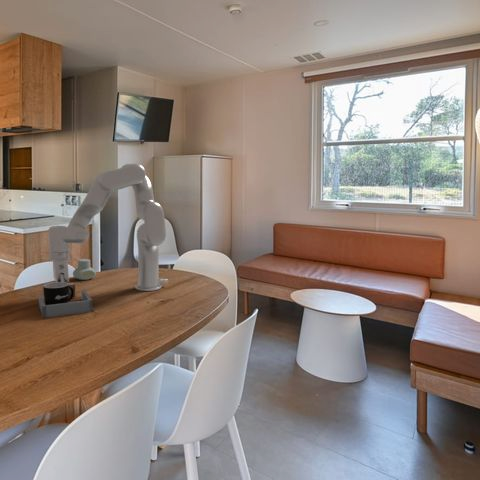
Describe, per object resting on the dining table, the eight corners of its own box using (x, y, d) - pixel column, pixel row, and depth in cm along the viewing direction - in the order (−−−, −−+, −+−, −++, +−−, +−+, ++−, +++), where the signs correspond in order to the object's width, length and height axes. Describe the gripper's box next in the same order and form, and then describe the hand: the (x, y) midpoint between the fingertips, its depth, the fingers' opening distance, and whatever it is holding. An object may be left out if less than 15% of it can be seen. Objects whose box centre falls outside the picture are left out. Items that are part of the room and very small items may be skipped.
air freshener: (91, 275, 202) (91, 257, 200) (98, 278, 196) (97, 260, 195) (70, 278, 194) (70, 259, 193) (77, 282, 189) (76, 262, 187)
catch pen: (84, 299, 162) (84, 289, 161) (92, 311, 147) (92, 300, 147) (38, 305, 153) (38, 294, 152) (42, 318, 138) (42, 306, 138)
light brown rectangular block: (73, 294, 165) (73, 282, 165) (75, 297, 163) (74, 284, 162) (46, 298, 160) (45, 285, 159) (46, 300, 157) (46, 287, 156)
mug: (53, 315, 142) (52, 289, 141) (39, 310, 146) (38, 285, 145) (80, 306, 152) (80, 282, 151) (66, 302, 157) (65, 279, 155)
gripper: (72, 258, 153) (73, 301, 156) (66, 251, 167) (67, 291, 170) (52, 259, 149) (53, 304, 152) (47, 252, 163) (49, 293, 166)
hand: (61, 296), depth 161 cm, fingers closed on light brown rectangular block, 3 cm apart
